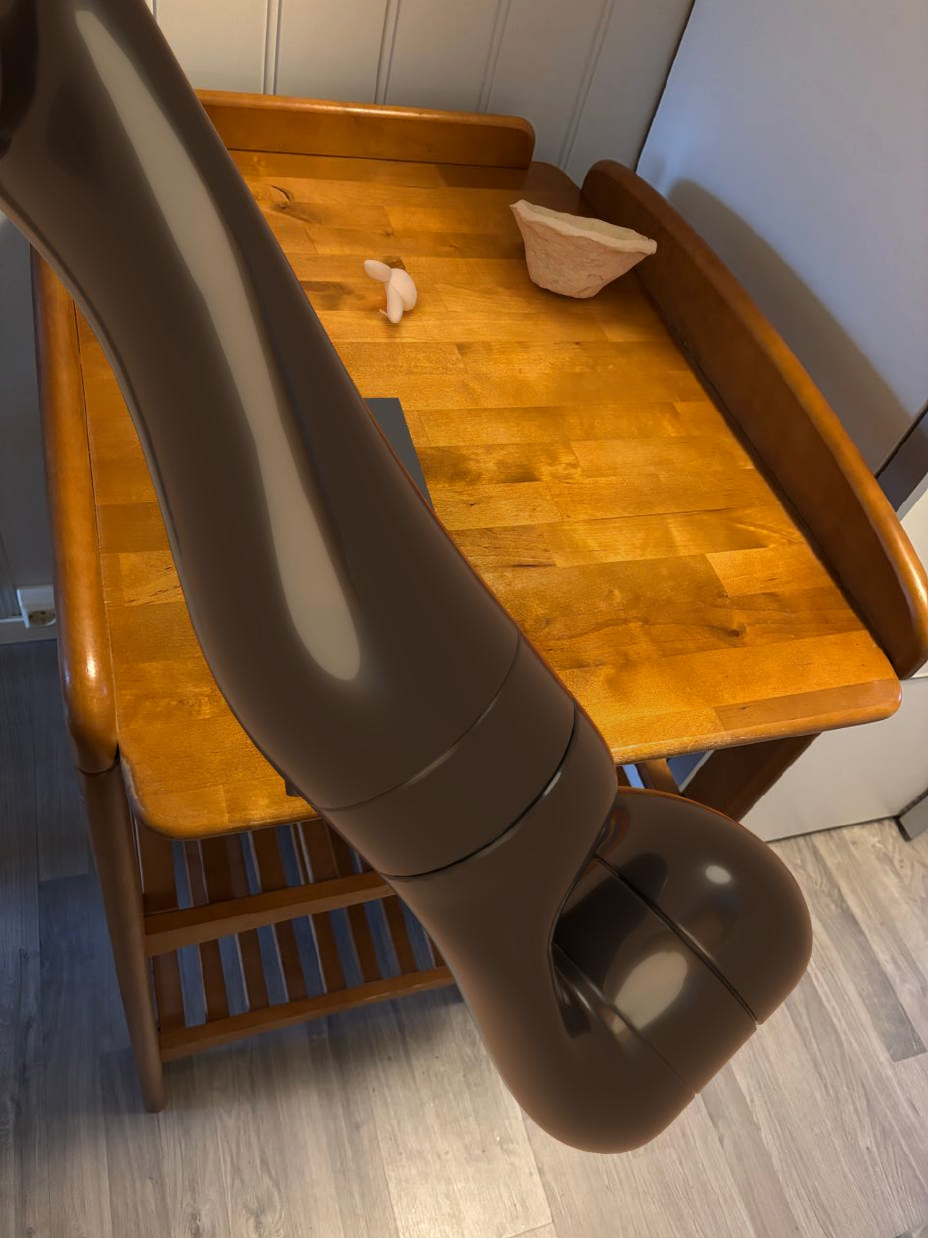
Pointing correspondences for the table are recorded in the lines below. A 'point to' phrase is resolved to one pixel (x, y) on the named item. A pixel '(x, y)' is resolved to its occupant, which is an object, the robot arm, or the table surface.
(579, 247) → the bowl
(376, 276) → the rabbit figurine
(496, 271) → the table surface
